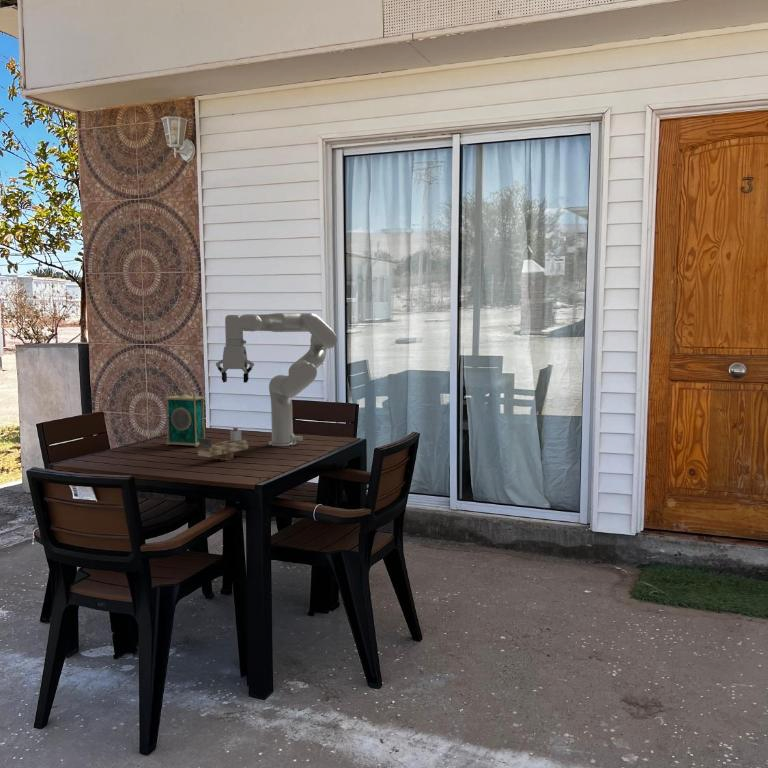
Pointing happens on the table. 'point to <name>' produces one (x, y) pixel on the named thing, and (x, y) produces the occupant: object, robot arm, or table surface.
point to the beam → (220, 448)
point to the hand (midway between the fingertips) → (235, 382)
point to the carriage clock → (185, 418)
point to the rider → (235, 435)
